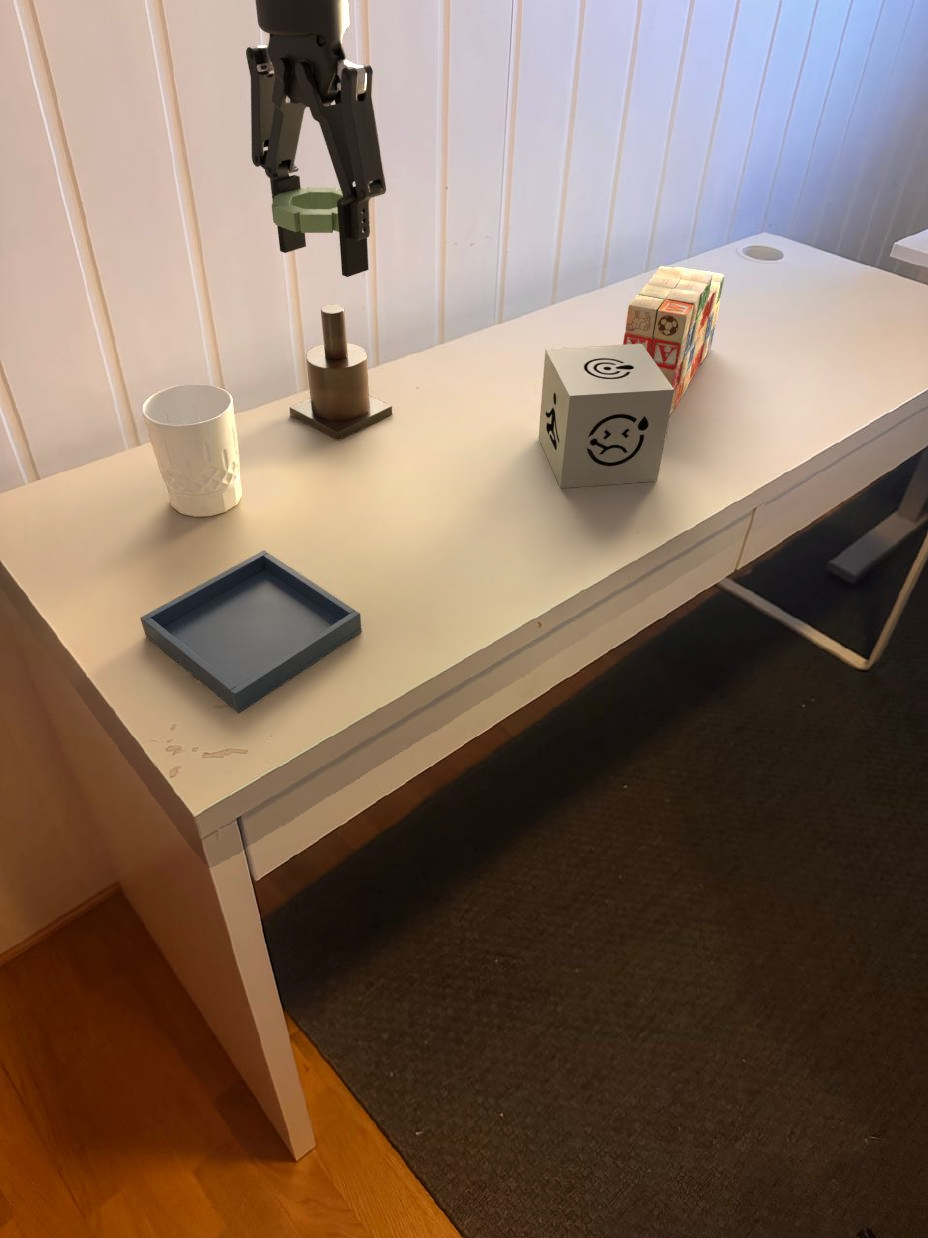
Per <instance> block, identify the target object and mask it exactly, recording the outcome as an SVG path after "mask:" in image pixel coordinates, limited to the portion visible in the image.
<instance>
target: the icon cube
mask: <svg viewBox="0 0 928 1238" xmlns="http://www.w3.org/2000/svg"><path fill="white" fill-rule="evenodd" d="M543 364H544V365H543V373H542V374H543V375H542V386H541V387H542V389H541V400H540V414H539V425H538V440H539V442H540V444H541V447H542V449H543V451H544V454H545V457H546V458H547V461H548V463H549V466H550V467H551V471H552V472H553V475H554V477H555V479H556V481H557V484H558V486H559V489H569V488H581V487H584V488H585V487H595V486H597V487H598V486H610V485H625V484H636V483H648V482H649V483H651V482H658V479H659V475H660V468H661V464H662V458H663V453H664V446H665V441H666V437H667V436H666V435H667V431H668V426H669V419H670V416H671V414H670V409H671V404H672V399H673V393H674V388H673V387H672V386H671V384H670V383H669V381H668V380H667V379H666V377H665V376H664V374H663V373H662V372H661V370H660V369H659V367H658V366H657V364H656V363H655V362H654V360H653V359H652V357H651V356H650V355H649V353H648V352H647V350H646V349H645V348H644V346H643V345H642V344H627V345H623V344H611V345H595V346H594V345H593V346H591V345H590V346H573V347H555V348H545V350H544V361H543ZM669 415H670V416H669Z"/></svg>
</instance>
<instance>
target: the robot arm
mask: <svg viewBox="0 0 928 1238" xmlns="http://www.w3.org/2000/svg"><path fill="white" fill-rule="evenodd" d="M254 1H255V9H256V17H257V24H258V27H259V28H260V30H262V31H263V32H264V33H266V34H268V35H269V38H268V39H269V40H268V44H261V45H254V46H248V47H246V50H245V55H246V60H247V66H248V71H249V76H250V128H251V129H250V130H251V131H250V132H251V137H250V139H251V161H252V163H253V165H254V166H255V167H257V168H258V167H261V168H262V169H263V170H264V173H265V176H267V178H269V183H270V191H271V199H272V200H271V202H273V200H274V197H275V196H278V194H280V193H284V192H288V191H292V190H296V189H299V188H302V187H301V177H300V176H299V175H297V174H294V173H297V172H299V167H298V166H296V164H295V161H296V156H297V151H298V147H299V140H300V135H301V130H302V125H303V119H304V114H305V110H306V108H309V111H310V114H311V117H312V118H313V120H314V121H316V122H317V123H318V125H319V127H320V131H321V133H322V136H323V139H324V142H325V146H326V149H327V152H328V154H329V157H330V160H331V164H332V167H333V170H334V173H335V175H336V179H337V182H338V185H339V189H341V191H342V194H343V197H342V198H340V199H338V201H337V209H338V222H339V232H338V236H339V251H340V265H341V276H343V277H346V278H350V277H352V276H354V275H358V274H361V273H364V272H366V271H369V269H370V268H369V250H368V249H369V248H368V238H369V237H370V234H371V225H370V224H371V221H370V220H371V219H370V200H371V199H372V198H375V197H379V196H382V195H385V194H386V192H387V184H386V178H385V171H384V166H383V159H382V151H381V146H380V140H379V133H378V127H377V120H376V114H375V108H374V101H373V87H374V86H373V84H374V70H373V68H372V66H371V65H370V64H369V63H363V64H355V63H353V62H352V61H349V60H348V58H347V55H346V51H345V49H344V44H343V36H344V34H345V32H347V31H348V29H349V27H350V22H351V21H350V6H349V0H254ZM333 103H334V104H333ZM265 148H267V149H265ZM290 174H291V175H290ZM354 185H355V186H354ZM276 227H277V235H278V236H277V237H278V244H279V252H281V253H283V254H286V253H290V252H294V251H297V250H299V249H303V248H306V247H307V241H306V233H301V231H297V232H294V231H291V230H288V229H286V228H283V227H280V226H277V225H276Z"/></svg>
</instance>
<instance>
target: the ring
mask: <svg viewBox="0 0 928 1238" xmlns="http://www.w3.org/2000/svg"><path fill="white" fill-rule="evenodd" d="M342 197H343V194H342V191H341V188H338V187H317V186H316V187H314V186H313V187H312V186H311V187H309V186H308V187H306V188H303V187H301V188H299V189H296V190H292V191H288V192H284V193H280V194H278V196H275V197H274V200H273V199H272V200H273V201H272V203H271V213H272V220H273V223H274V225H275V226H276V227H277V226H280V227H283V228H286V229H288V230H291V231H294V232H297V231H301V233H305V234H333V233H334V232H336V233H339V222H338V209H337V201H338V199H340V198H342Z"/></svg>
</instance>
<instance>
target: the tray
mask: <svg viewBox="0 0 928 1238" xmlns="http://www.w3.org/2000/svg"><path fill="white" fill-rule="evenodd" d="M361 621H362V619H361V613H360V612H359V611H357V610H355V609H354V608H352V607H351V606H350V605H348V604H346V603H345V602H343V601H342V600H340V598H338V597H336V596H335V595H333V594H332V593H330V592H328V591H327V590H325V589H324V588H322V587H321V586H319V585H318V584H316V583H315V582H314V581H312V580H310V579H309V578H307V577H305V576H304V575H302V574H301V573H300V572H298V571H296V570H295V569H294V568H292V567H290V566H289V565H288V564H286V563H285V562H283V561H281V560H280V559H278V558H277V557H275V556H274V555H272V554H271V553H270V552H267V550H265V549H264V550H261V551H259V552H258V553H256V554H254V555H252V556H251V557H248V558H247V559H245V560H243V561H242V562H240V563H238V564H236V565H234V566H232V567H231V568H229V569H227V570H225V571H223V572H221V573H219V574H217V575H216V576H213V577H212V578H210V579H208V580H206V581H205V582H203V583H201V584H199V585H198V586H195V587H194V588H192V589H190V590H188V591H186V592H185V593H183V594H181V595H179V596H177V597H176V598H174V599H172V600H170V601H168V602H166V603H165V604H163V605H161V606H159V607H157V608H155V609H154V610H152V611H150V612H148V613H146V614H144V615H143V616H141V617H140V622H141V626H142V628H143V633H144V636H145V637H146V638H147V639H148V640H149V641H151V642H152V643H153V644H154V645H155V646H157V647H158V648H159V649H160V650H162V652H164V653H165V654H166V655H168V656H169V657H170V658H171V659H172V660H174V661H175V662H176V663H177V664H179V665H180V666H181V667H182V668H183V669H185V670H186V671H187V672H188V673H189V674H190V675H192V676H193V677H194V678H196V679H197V681H199V682H200V683H201V684H203V685H204V686H205V687H207V689H209V690H210V691H211V692H212V693H214V694H215V695H216V696H218V697H219V698H220V699H221V700H222V701H223V702H225V703H226V704H227V705H228V706H230V708H232V709H234V711H236V712H237V713H238V714H240V713H242V712H243V711H245V710H247V708H249V707H251V706H253V704H255V703H256V702H258V701H259V700H261V699H264V697H266V696H267V695H269V694H270V693H272V692H274V691H275V690H276V689H278V688H279V687H281V686H282V685H284V684H285V683H288V681H290V680H291V679H293V678H294V677H296V676H298V675H299V674H300V673H302V672H304V671H305V670H306V669H308V668H310V667H311V666H312V665H314V664H316V663H318V661H320V660H321V659H323V658H324V657H326V656H328V655H329V654H331V653H332V652H334V651H335V650H337V649H338V648H340V647H341V646H343V645H345V644H346V643H347V642H349V641H351V640H352V639H353V638H355V637H356V636H358V635H359V634H361V633H362V632H363V630H362V622H361Z"/></svg>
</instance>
